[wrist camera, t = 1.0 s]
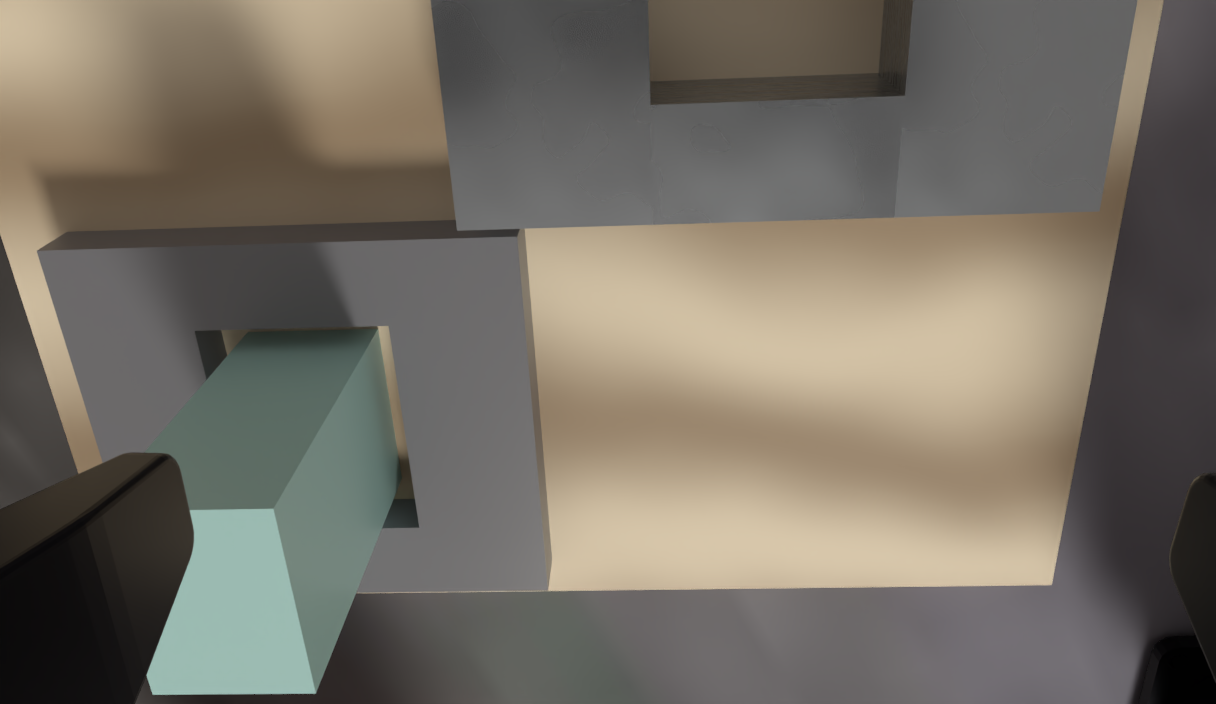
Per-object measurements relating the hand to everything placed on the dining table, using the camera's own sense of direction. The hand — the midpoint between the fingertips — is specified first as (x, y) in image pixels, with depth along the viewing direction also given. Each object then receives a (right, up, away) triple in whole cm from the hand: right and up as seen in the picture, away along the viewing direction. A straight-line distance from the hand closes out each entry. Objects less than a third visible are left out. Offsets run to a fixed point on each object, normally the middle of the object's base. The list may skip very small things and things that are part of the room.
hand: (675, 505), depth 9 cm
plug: (-7, 0, +14) cm, 16 cm away
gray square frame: (-7, 0, +15) cm, 17 cm away
